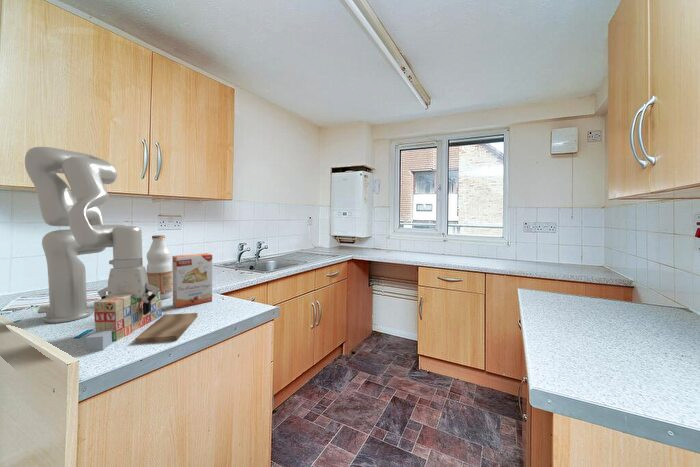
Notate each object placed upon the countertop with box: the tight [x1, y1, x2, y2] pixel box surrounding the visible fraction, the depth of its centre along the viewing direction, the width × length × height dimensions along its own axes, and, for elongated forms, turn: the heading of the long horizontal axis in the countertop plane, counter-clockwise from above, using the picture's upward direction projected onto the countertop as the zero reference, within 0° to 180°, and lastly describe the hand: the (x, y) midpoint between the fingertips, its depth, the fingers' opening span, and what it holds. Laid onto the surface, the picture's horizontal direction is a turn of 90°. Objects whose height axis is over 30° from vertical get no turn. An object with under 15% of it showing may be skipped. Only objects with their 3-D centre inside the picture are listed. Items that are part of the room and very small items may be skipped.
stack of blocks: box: [93, 292, 163, 342], centre depth 94 cm, size 21×6×12 cm, turn 2°
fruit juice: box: [146, 234, 173, 301], centre depth 126 cm, size 9×9×28 cm
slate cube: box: [85, 331, 113, 352], centre depth 80 cm, size 4×4×4 cm
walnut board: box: [134, 312, 198, 344], centre depth 94 cm, size 11×20×2 cm, turn 12°
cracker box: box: [171, 252, 213, 309], centre depth 119 cm, size 14×6×21 cm, turn 137°
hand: (130, 314), depth 94 cm, fingers open, 9 cm apart
